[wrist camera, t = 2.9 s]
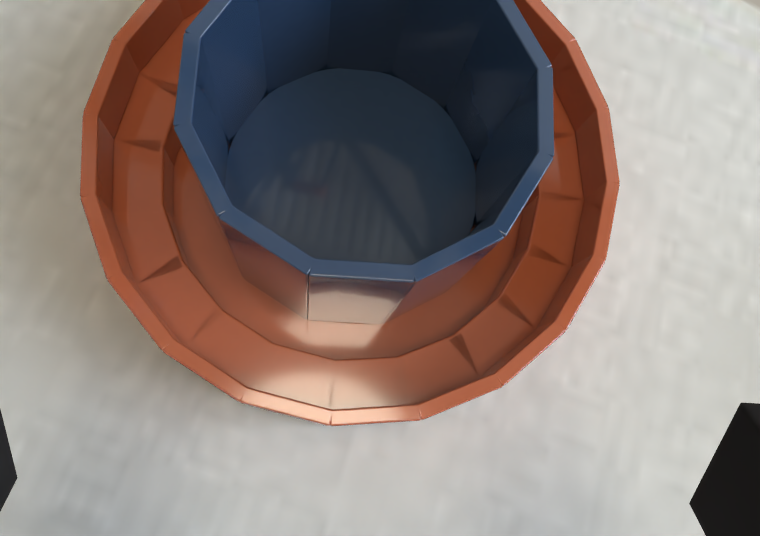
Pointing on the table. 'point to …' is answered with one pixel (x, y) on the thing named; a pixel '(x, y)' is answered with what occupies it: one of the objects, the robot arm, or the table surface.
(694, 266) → the table surface
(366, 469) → the table surface
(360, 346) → the lower bowl
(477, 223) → the blue faceted pot
